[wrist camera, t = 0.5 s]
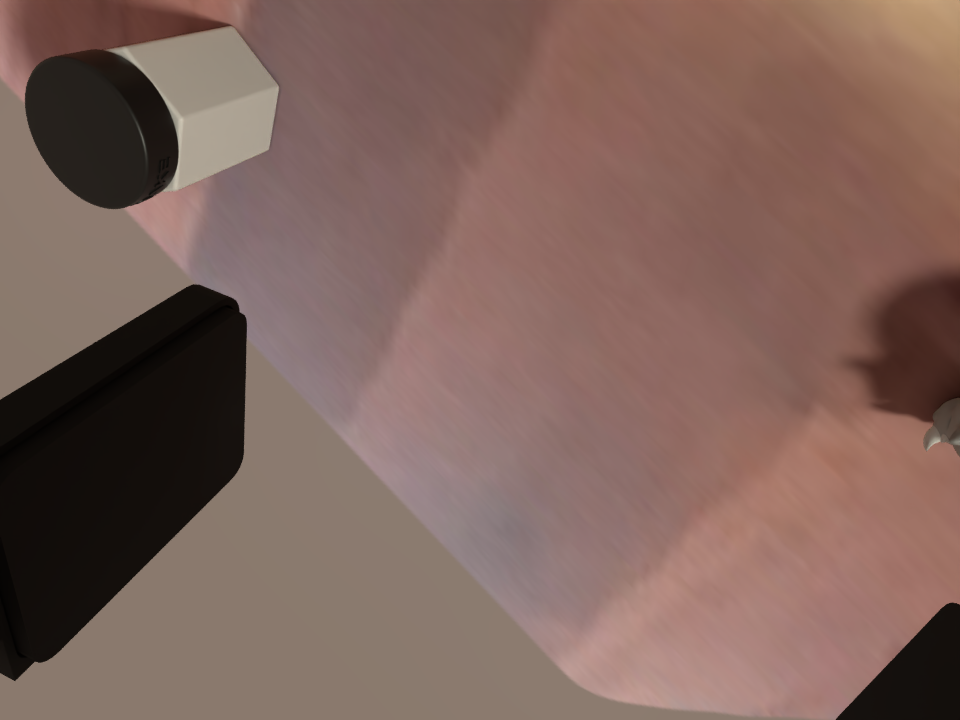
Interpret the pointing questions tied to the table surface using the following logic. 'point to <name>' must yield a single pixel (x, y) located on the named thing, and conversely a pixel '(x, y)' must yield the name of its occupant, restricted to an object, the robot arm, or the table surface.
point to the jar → (150, 114)
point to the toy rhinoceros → (945, 426)
